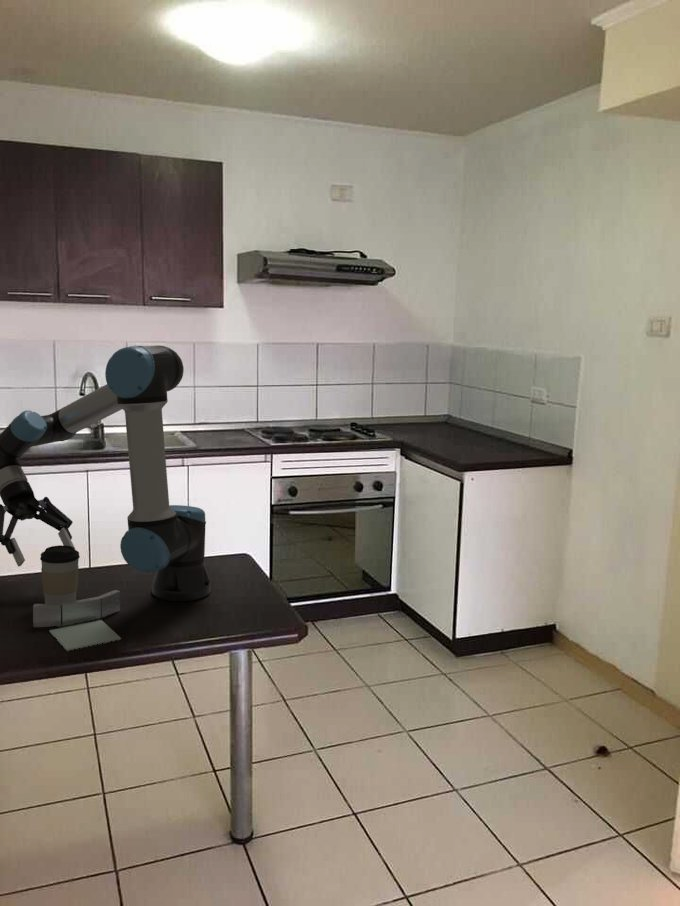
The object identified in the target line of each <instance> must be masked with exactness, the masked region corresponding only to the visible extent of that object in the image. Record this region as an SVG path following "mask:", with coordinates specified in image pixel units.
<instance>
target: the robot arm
mask: <svg viewBox="0 0 680 906" xmlns="http://www.w3.org/2000/svg"><path fill="white" fill-rule="evenodd" d="M184 369H185V368H184V364H183V361H182V359H181V356H180V355H179V354H178V353H177V352H176V351H175V350H173V349H172V348H170V347H168V346H165V345H132V346H125V347H122V348H119V349H118V350H116V351H115V352H114V353H113V354H112V355H111V356H110V357H109V359H108V361H107V363H106V367H105V372H104V374H105V375H104V376H105V381H106V384H104V385H102V386H101V387H99V388H97V389H95V390H92V391H91V392H89V393H88V394H86V395H84V396H82V397H80V398H78V399H77V400H74V401H73V402H70V403H69V404H67V405H65V406H63V407H61V408H60V409H58V410H56V411H53V412H52V413H50V414H46V415H40V414H39V413H38V412H36V411H32V410H24V411H22V412H20V413H19V414H18V415H17V416H16V417H14V418H13V419H12V420H11V422H10V423H9V424H7V425H8V426H7V427H5V428H4V430H3V431H2V432H0V498H1V501H2V503H3V504H1V503H0V545H1V546H3V547H4V546H5V548H6V550H7V553H8V554H9V555H12V556H13V559H14V562H15V563H16V565H17V567H22V565H23V564H24V563H25V561H26V559H25V557H24V555H23V553H22V551H21V547H19V544H18V541H17V540H16V538H15V537H12V535H13V533H14V530H15V528H16V525H17V523H18V521H19V520H20V521H25V520H32V519H35V520H37V521H38V520H39V521H40V522H43V523H44V524H46V525H48V526H50V527H51V528H53V529H55V530H56V531H58V533H57V535H58V537H59V539H60V541H61V543H62V544H63V545H65V546H72V547H74V548H75V549H76V547H75V545H74V543H73V541H72V539H73V536H72V534H71V532H70V530H69V529H70V527H71V526H72V525H73V523H74V522H73V520H71V518H69V517H68V515H66V514H65V513H64V512H62V511H61V509H59V508H58V507H57V506H55V504H53V503H52V502H51V500H50V499H49V497H47V496H44V498H43V499H39V500H38V499H37V498H36V496H35V493H34V489H33V488H32V486H31V484H30V482H29V481H28V478H27V476H26V474H25V472H24V470H23V468H22V466H21V464H20V461H19V459H21V457H22V456H23V455H24V454H25V453H26V452H27V451H28V450H29V449H31V448H33V447H38V446H42V445H47V444H51V443H52V444H54V443H58V442H65V441H68V440H70V439H72V438H74V437H76V434H77V433H78V432H80V431H83V430H84V429H86V428H88V427H90V426H92V425H94V424H96V423H97V422H100V421H102V420H104V419H106V418H108V417H110V416H112V415H113V414H115V413H118V412H119V411H122V410H123V411H124V417H125V427H126V438H127V439H126V440H127V441H126V442H127V451H128V464H129V466H128V467H129V474H130V476H129V477H130V486H131V489H130V490H131V496H132V497H131V498H132V499H131V500H132V501H131V502H132V511H130V513H129V515H128V516H127V519H126V520H127V527H128V529H127V530H126V531H125V533H124V535H123V536H122V538H121V540H120V553H121V555H122V558H123V560H124V561H125V563H126V565H128V566H130V567H131V568H132V569H133V570H134V571H137V572H140V573H143V574H153V573H155V572H156V573H155V575H154V577H153V580H152V584H151V589H152V590H151V594H152V595H153V596H154V597H156V598H158V599H160V600H164V601H169V602H170V601H171V602H191V601H196V600H200V599H202V598H205V597H207V596H208V595H209V594H210V592H211V580H210V578H209V574H208V571H207V567H206V564H205V555H206V554H205V551H206V549H205V548H206V524H207V521H206V512H205V510H204V509H203V508H200V507H196V506H191V505H181V504H177V505H176V504H170V498H169V485H168V473H167V471H168V470H167V459H166V458H167V457H166V446H165V435H164V422H163V407H165V405H166V404H167V403H168V392H170V391H172V390H174V389H175V388H177V386H178V385H179V384H180V383H181V381H182V378H183V376H184ZM6 512H7V513H8V514H9V515H11V518H10V520H9V524H8V526H7V528H6V531H5V532H4V526H5V516H6V515H5V514H6ZM4 533H5V534H4Z"/></svg>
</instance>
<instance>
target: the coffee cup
mask: <svg viewBox="0 0 680 906" xmlns="http://www.w3.org/2000/svg"><path fill="white" fill-rule="evenodd" d="M74 547H75V546H74ZM74 547H72V546H65V545H52V546H49V547H47V548H45V550H44V551H42V552H41V553H40V561H41V570H40V571H41V579H42V589H43V590H42V592H43V595H44V604H52V603H65V602H71V601H76V600H77V591H78V581H79V580H78V579H79V568H80V566H79V560H80V557H81V556H80V552H79V551H78V550H76V547H75V548H74Z"/></svg>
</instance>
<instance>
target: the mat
mask: <svg viewBox="0 0 680 906" xmlns="http://www.w3.org/2000/svg"><path fill="white" fill-rule="evenodd" d="M49 633H50V635H52V636H53V638H54V637H55V638H56V639H57V640H56V639H55V638H54V639H55V640H56V641H57V642H58V643H59V644H60V645H61V646H63V649H64V650H65V651H66V652H70V650H71V651H74V649H75V650H79V648H80V649H83V648H84V647H85V648H89V647H93V645H94V646H98V645H103V644H107V643H111V641H112V642H115V641H116V640H117V641H121V639H122V638H121V637H120V636H119V634H118V633H116V632H115V631H114V630H113V629H112V628H111V627H110V626H109V625H108V624H107V623H106V622H104V621H103V620H102V619H97V620H92V621H87V622H82V623H77V624H72V625H67V626H62V627H59V628H54V629H53V628H52V629H49ZM102 643H103V644H102ZM97 644H98V645H97ZM88 646H89V647H88Z"/></svg>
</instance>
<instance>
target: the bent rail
mask: <svg viewBox="0 0 680 906" xmlns="http://www.w3.org/2000/svg"><path fill="white" fill-rule="evenodd" d="M120 611H121V591H120V590H117V589H114V590H112V591H108V592H106V593H103V594H100V595H98V596H94V597H88V598H83V599H78V600H77V599H76V601H71V602H65V603H52V604H45V603H34V604H33V606H32V616H33V617H32V622H33V623H32V625H33V626H32V627H33V628H48V627H49V628H50V627H51V626H52V627H53V626H57V627H67V626H72V625H76V624H82V623H86V622H91V621H96V620H101V619H103V617H104V618H106V617H109V616H111V615H113V614H115V613H118V612H120ZM108 615H109V616H108ZM100 618H101V619H100ZM95 619H96V620H95ZM90 620H91V621H90ZM85 621H86V622H85ZM75 623H76V624H75ZM52 627H51V628H52Z"/></svg>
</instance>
